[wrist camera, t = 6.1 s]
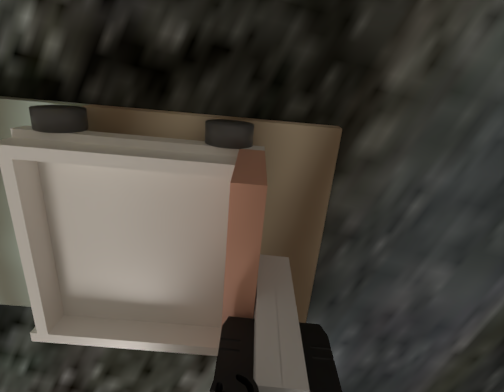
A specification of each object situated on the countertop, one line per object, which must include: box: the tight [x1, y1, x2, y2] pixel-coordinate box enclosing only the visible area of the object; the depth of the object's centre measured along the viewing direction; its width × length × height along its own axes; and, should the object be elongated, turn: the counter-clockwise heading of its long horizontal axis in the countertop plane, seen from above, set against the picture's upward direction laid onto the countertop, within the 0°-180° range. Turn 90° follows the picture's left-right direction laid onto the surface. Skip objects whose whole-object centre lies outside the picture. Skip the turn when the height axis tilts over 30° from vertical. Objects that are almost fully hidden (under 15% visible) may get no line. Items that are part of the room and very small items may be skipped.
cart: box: [0, 105, 267, 356], centre depth 15 cm, size 12×14×7 cm
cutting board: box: [0, 96, 342, 323], centre depth 19 cm, size 26×14×1 cm, turn 85°
